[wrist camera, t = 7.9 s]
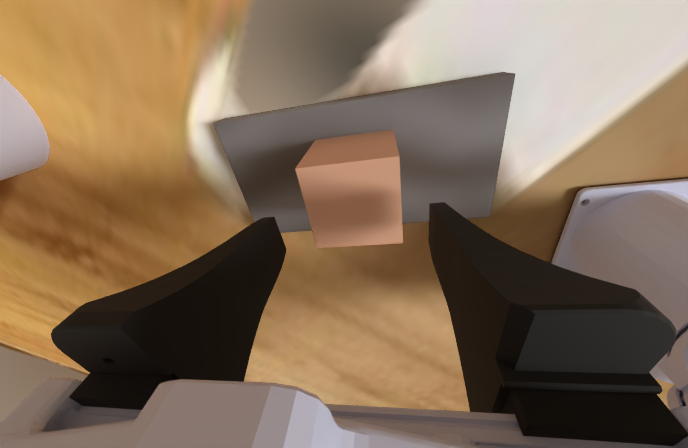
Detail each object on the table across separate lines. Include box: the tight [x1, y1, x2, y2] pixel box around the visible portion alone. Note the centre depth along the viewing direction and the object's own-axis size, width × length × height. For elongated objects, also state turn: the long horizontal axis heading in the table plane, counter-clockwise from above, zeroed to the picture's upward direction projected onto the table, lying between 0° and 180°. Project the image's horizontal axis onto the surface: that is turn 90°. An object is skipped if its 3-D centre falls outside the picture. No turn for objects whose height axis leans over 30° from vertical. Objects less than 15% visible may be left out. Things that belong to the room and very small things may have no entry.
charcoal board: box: [213, 72, 515, 233], centre depth 18 cm, size 9×18×2 cm, turn 99°
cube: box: [295, 129, 403, 248], centre depth 15 cm, size 5×5×5 cm
